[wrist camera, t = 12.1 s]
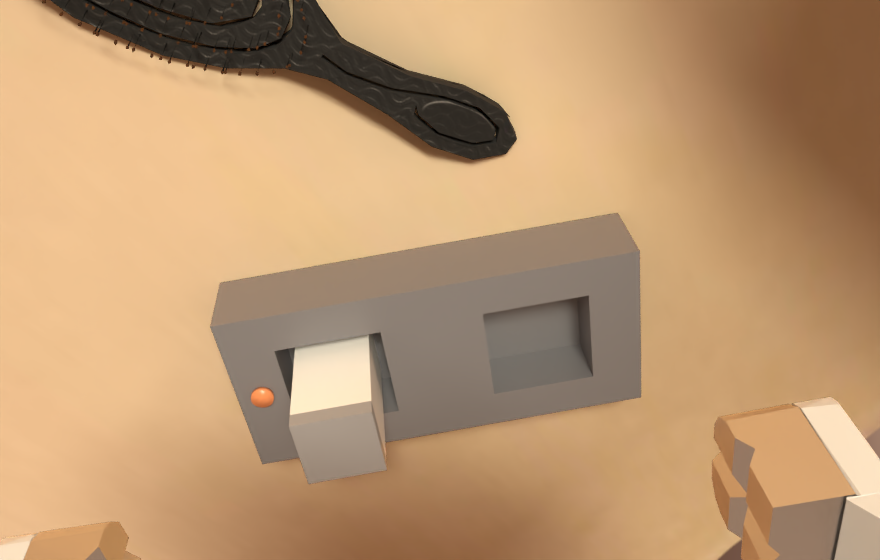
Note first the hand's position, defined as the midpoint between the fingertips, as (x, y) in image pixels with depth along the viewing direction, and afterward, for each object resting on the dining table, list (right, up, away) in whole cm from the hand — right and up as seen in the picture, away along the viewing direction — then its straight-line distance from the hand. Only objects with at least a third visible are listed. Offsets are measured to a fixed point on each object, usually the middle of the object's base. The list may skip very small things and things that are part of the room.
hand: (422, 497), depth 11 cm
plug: (-5, -1, +36) cm, 36 cm away
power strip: (0, +1, +36) cm, 37 cm away
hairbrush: (-7, +15, +27) cm, 32 cm away
